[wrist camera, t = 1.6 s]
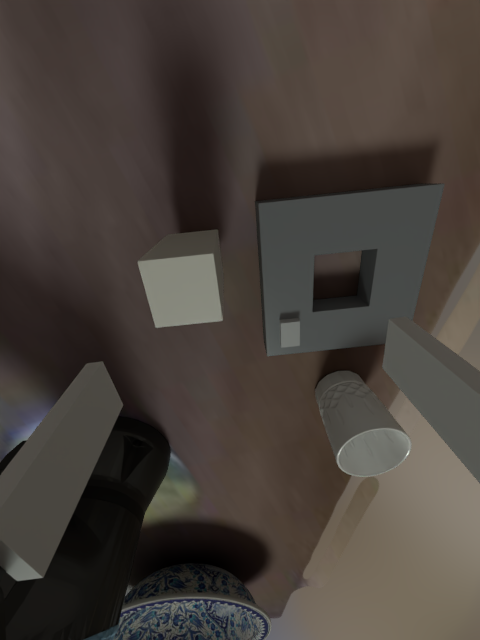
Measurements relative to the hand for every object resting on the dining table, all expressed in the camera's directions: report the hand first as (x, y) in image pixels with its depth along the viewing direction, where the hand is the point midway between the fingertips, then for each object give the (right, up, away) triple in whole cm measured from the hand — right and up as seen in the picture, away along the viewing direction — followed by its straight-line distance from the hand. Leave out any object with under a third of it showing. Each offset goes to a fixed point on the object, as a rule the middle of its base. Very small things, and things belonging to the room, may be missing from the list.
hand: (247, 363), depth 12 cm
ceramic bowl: (-12, -56, +49) cm, 76 cm away
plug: (-5, +9, +15) cm, 18 cm away
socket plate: (+10, +7, +17) cm, 21 cm away
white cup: (+13, -7, +25) cm, 29 cm away
